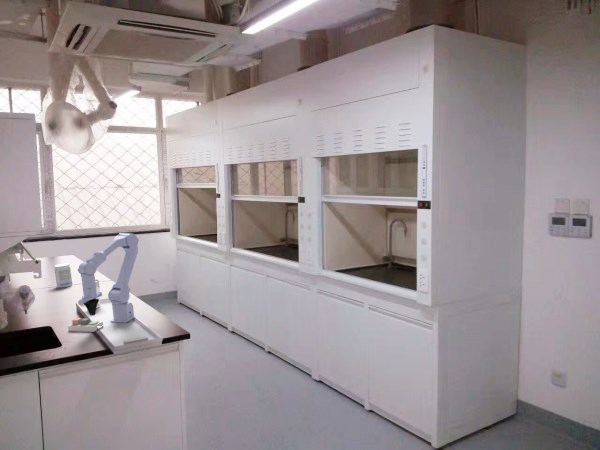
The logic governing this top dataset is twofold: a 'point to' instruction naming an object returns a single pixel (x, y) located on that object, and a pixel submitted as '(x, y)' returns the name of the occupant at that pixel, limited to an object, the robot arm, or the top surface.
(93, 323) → the sage key
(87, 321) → the grey key
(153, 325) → the top surface
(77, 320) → the terracotta key
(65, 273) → the supplement tub
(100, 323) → the keypad
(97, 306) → the beer glass
